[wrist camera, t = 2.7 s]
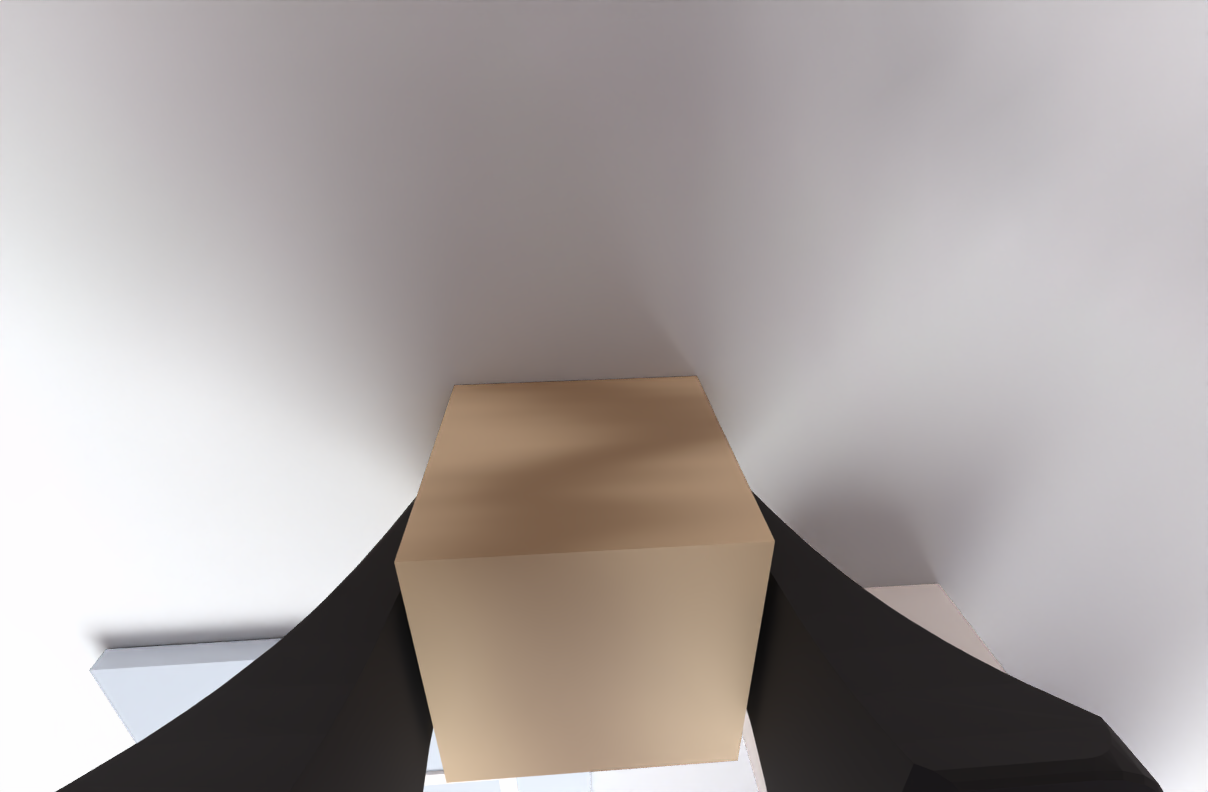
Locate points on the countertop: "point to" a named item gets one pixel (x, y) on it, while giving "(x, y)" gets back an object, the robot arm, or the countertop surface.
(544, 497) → the base cube
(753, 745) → the top cube
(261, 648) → the board
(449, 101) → the countertop surface
